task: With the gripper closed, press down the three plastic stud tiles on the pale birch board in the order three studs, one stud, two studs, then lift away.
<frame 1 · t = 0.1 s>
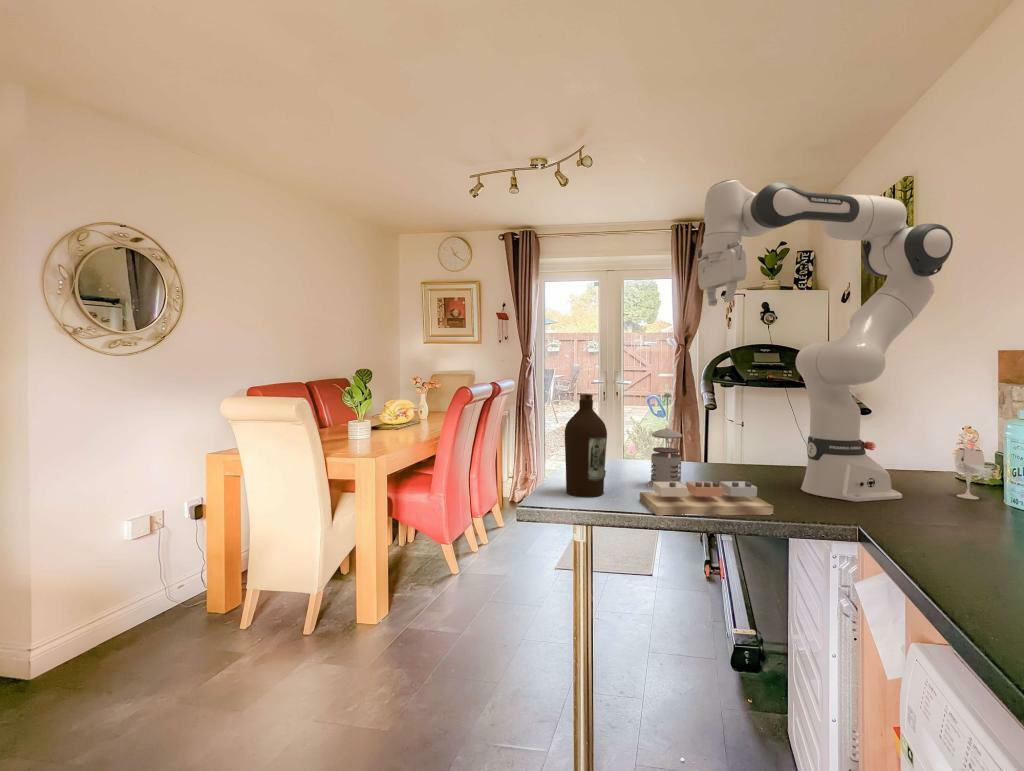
hand: (720, 304, 139), 48 cm above the worktop, tool pointing down, fingers open, 8 cm apart
tile one: (669, 487, 127), point 5 cm above the worktop, slide at 0.0 cm
tile two: (738, 486, 128), point 5 cm above the worktop, slide at 0.0 cm
button board: (703, 507, 128), on the worktop
olive oil: (584, 493, 141), on the worktop
tile three: (704, 487, 128), point 5 cm above the worktop, slide at 0.0 cm
wineglass: (967, 497, 140), on the worktop
french press: (666, 485, 151), on the worktop
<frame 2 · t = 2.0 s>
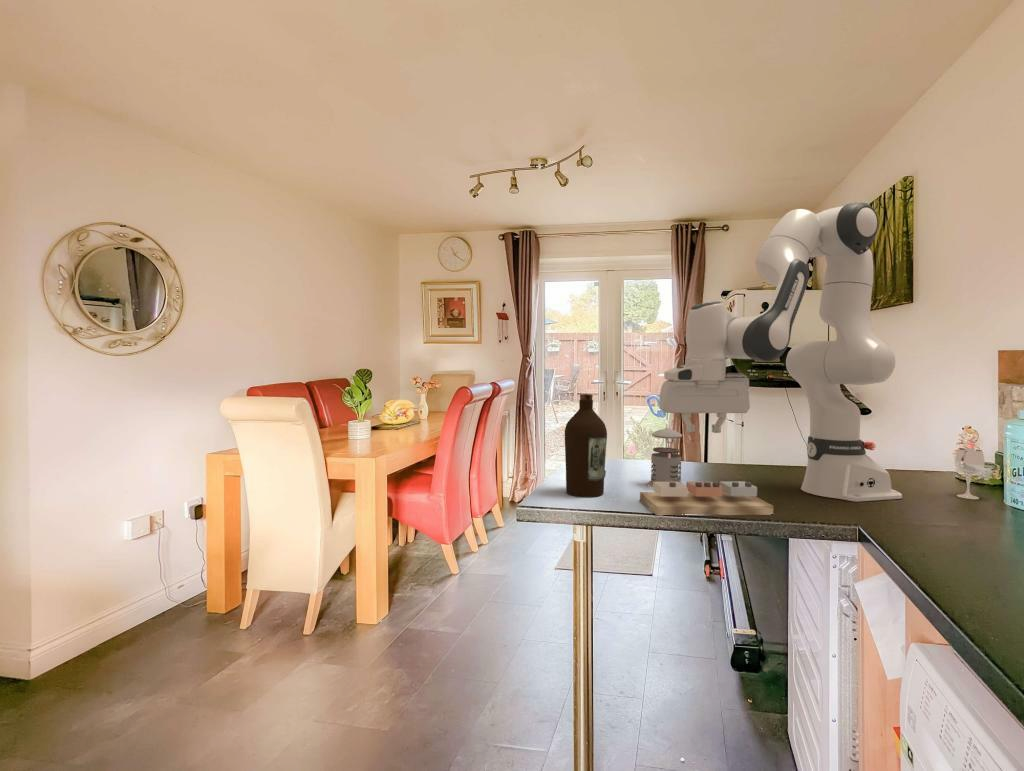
hand: (703, 432, 128), 17 cm above the worktop, tool pointing down, fingers open, 5 cm apart
nothing on the worktop moved.
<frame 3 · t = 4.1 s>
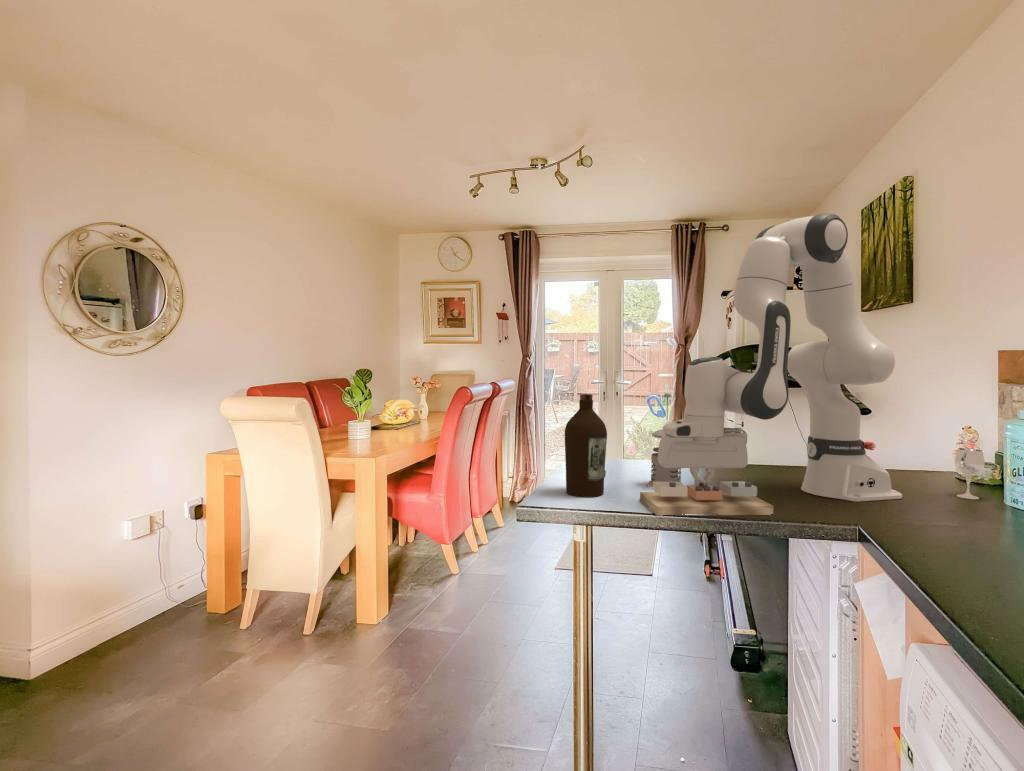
hand: (701, 486, 129), 4 cm above the worktop, tool pointing down, fingers closed, pressing on tile three
tile three: (703, 490, 128), point 4 cm above the worktop, slide at 0.9 cm, touching gripper
everything else where it was.
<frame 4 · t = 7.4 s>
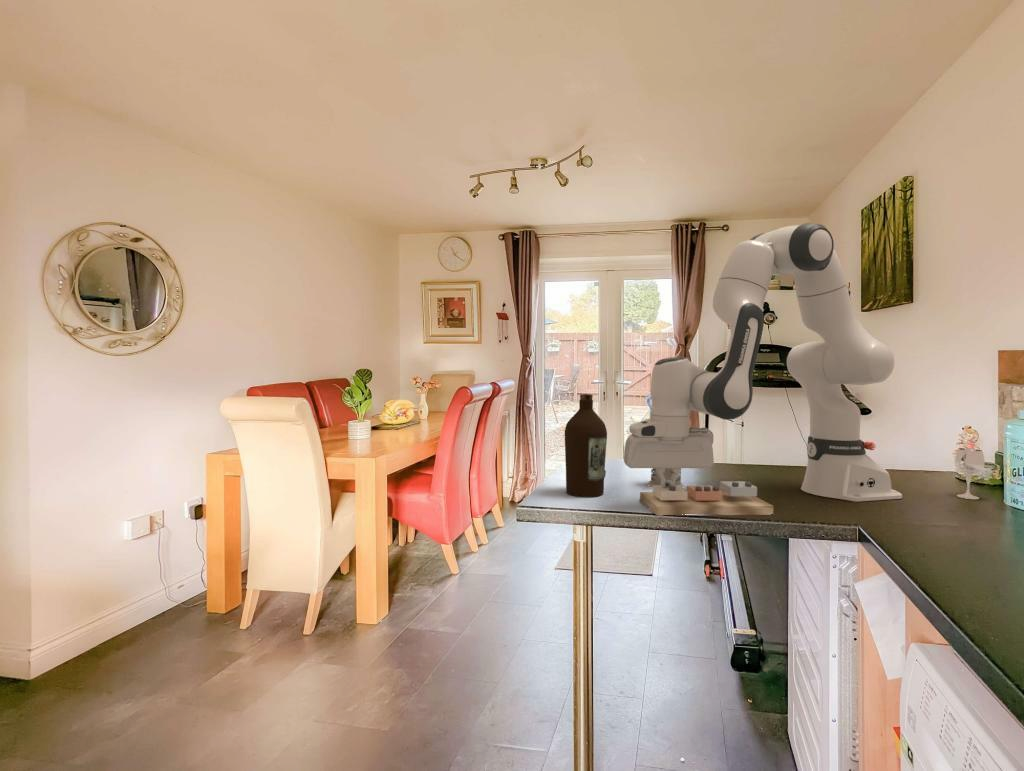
hand: (667, 487, 128), 4 cm above the worktop, tool pointing down, fingers closed, pressing on tile one
tile one: (669, 490, 127), point 4 cm above the worktop, slide at 0.9 cm, touching gripper
tile three: (703, 491, 128), point 4 cm above the worktop, slide at 0.9 cm
everything else where it was.
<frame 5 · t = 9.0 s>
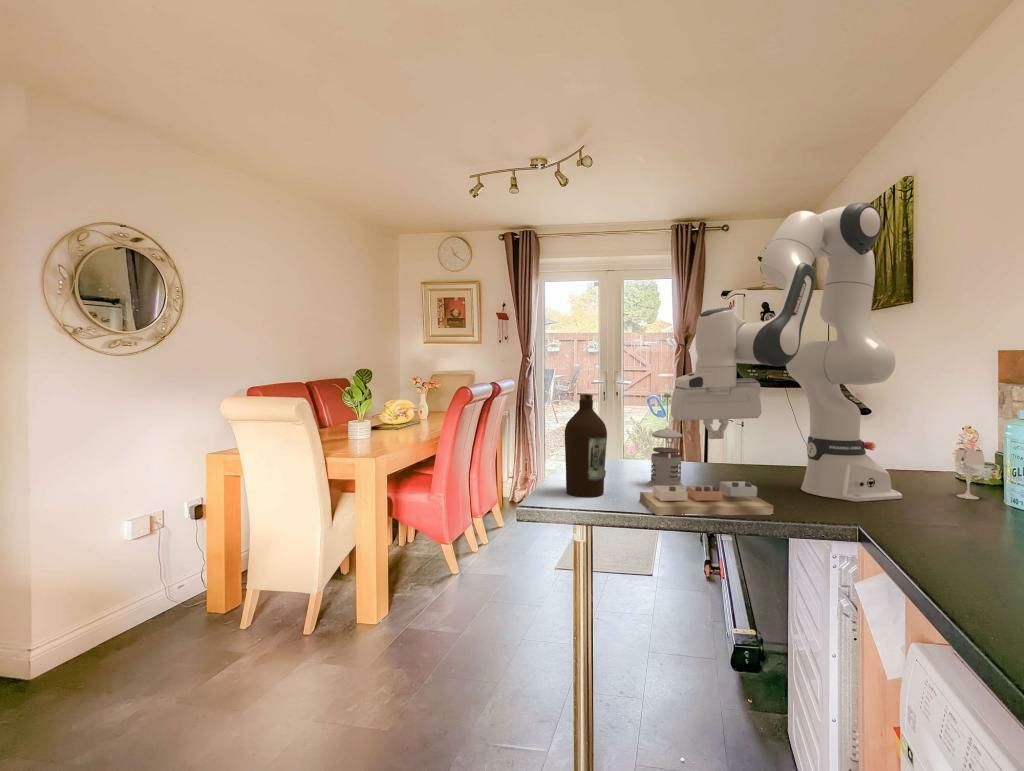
hand: (715, 438, 129), 16 cm above the worktop, tool pointing down, fingers closed
tile one: (669, 491, 127), point 4 cm above the worktop, slide at 0.9 cm
everything else where it was.
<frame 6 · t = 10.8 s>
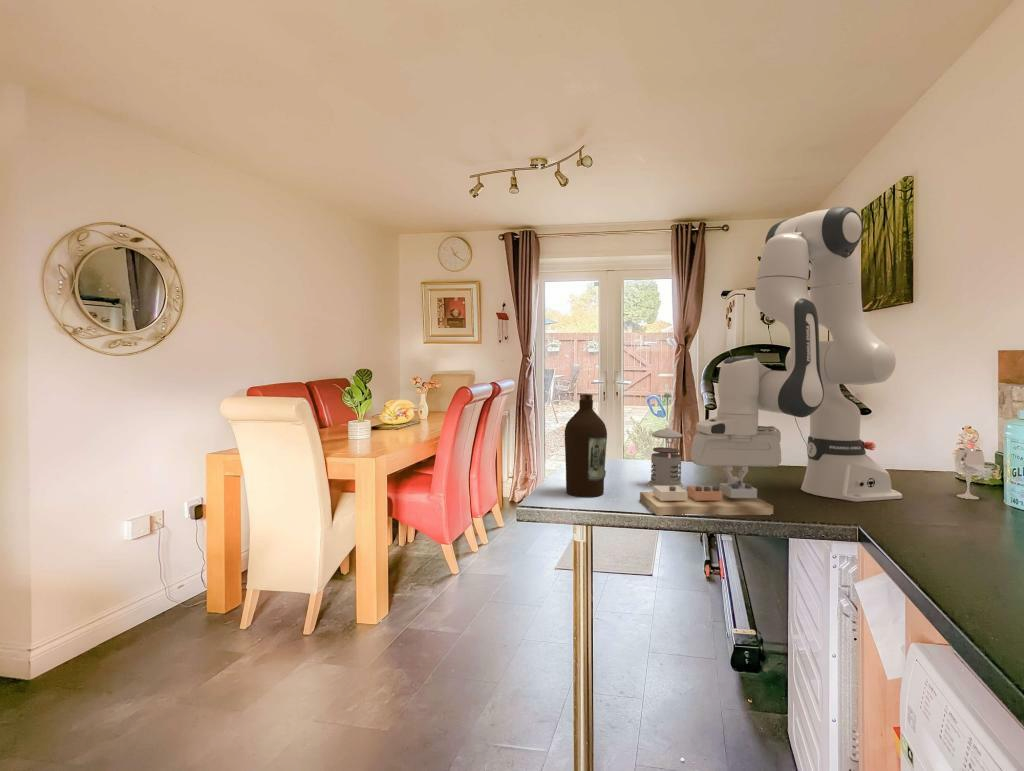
hand: (734, 484, 129), 5 cm above the worktop, tool pointing down, fingers closed, pressing on tile two
tile two: (738, 488, 128), point 4 cm above the worktop, slide at 0.4 cm, touching gripper
everything else where it was.
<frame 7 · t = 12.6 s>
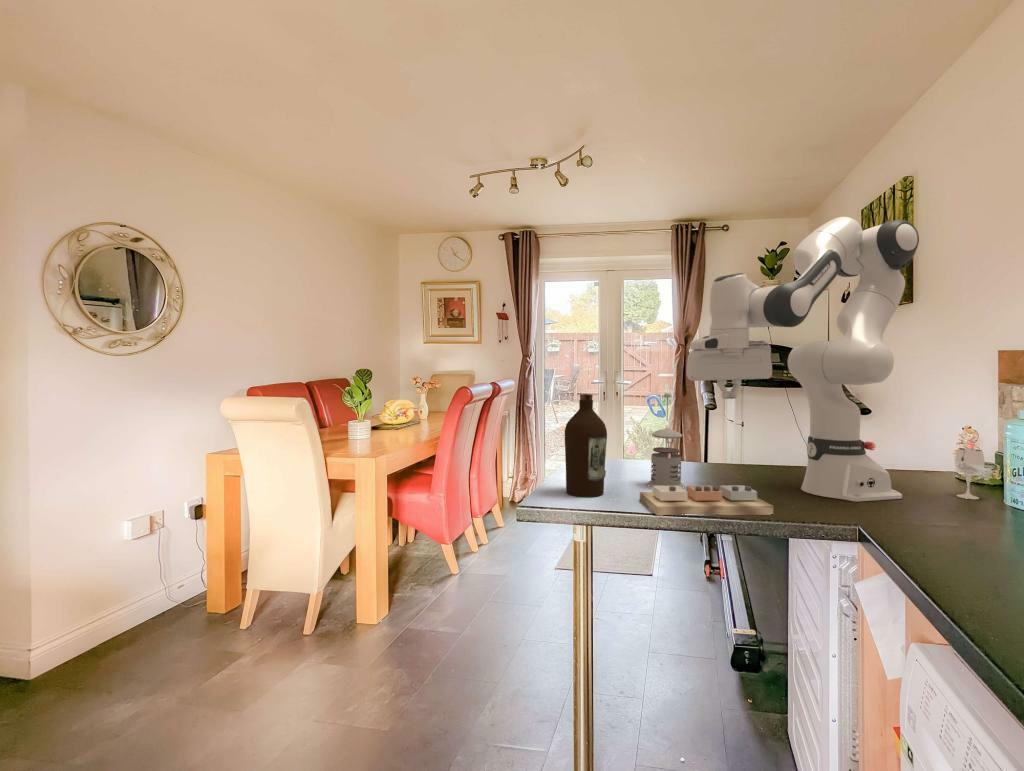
hand: (729, 398, 135), 25 cm above the worktop, tool pointing down, fingers closed
tile two: (737, 491, 128), point 4 cm above the worktop, slide at 1.0 cm
everything else where it was.
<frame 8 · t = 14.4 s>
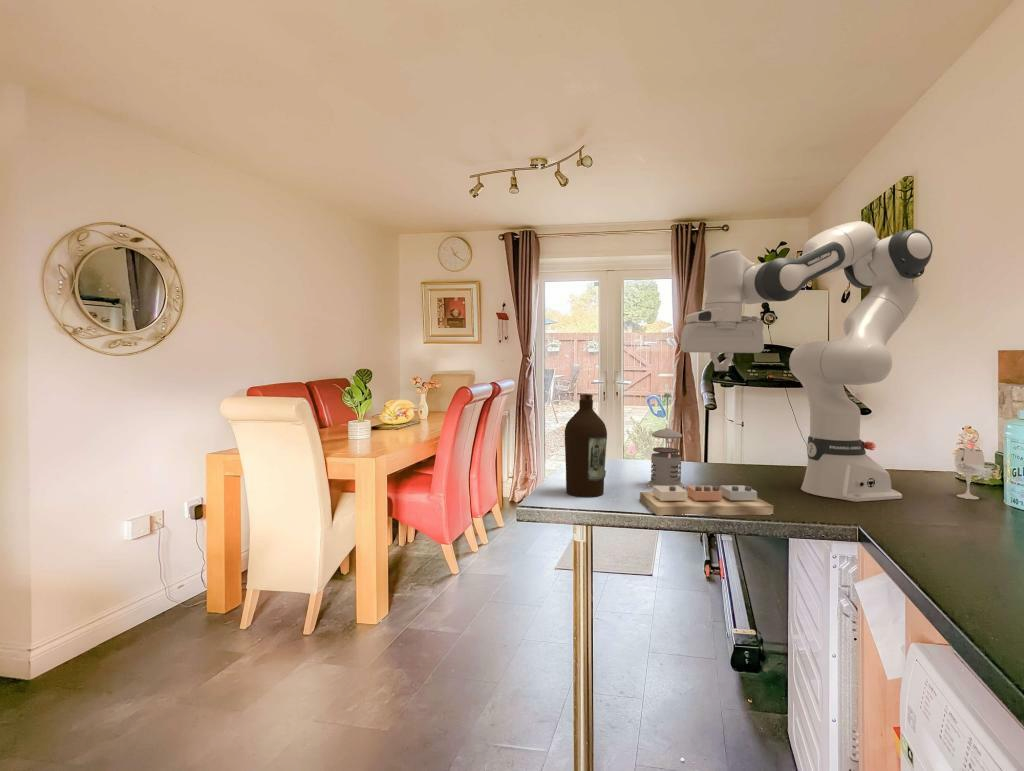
hand: (721, 371, 140), 31 cm above the worktop, tool pointing down, fingers closed
nothing on the worktop moved.
at the end: tile three slide at 0.9 cm; tile one slide at 0.9 cm; tile two slide at 1.0 cm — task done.
